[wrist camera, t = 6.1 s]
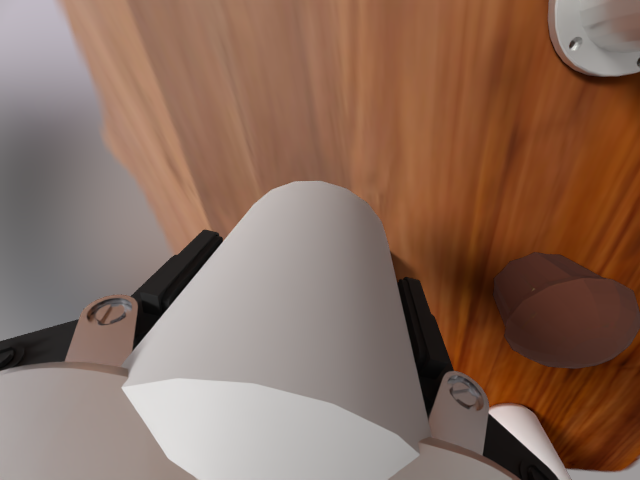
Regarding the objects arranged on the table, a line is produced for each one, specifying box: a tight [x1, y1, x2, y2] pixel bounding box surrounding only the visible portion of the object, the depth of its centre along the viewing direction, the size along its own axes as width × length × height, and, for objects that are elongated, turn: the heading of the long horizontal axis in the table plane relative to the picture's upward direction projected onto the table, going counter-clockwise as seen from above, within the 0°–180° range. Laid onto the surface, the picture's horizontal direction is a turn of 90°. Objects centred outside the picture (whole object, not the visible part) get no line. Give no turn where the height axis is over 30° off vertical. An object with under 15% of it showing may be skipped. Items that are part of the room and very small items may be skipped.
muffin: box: [493, 252, 640, 368], centre depth 29 cm, size 12×11×10 cm
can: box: [120, 181, 432, 480], centre depth 9 cm, size 8×8×12 cm
